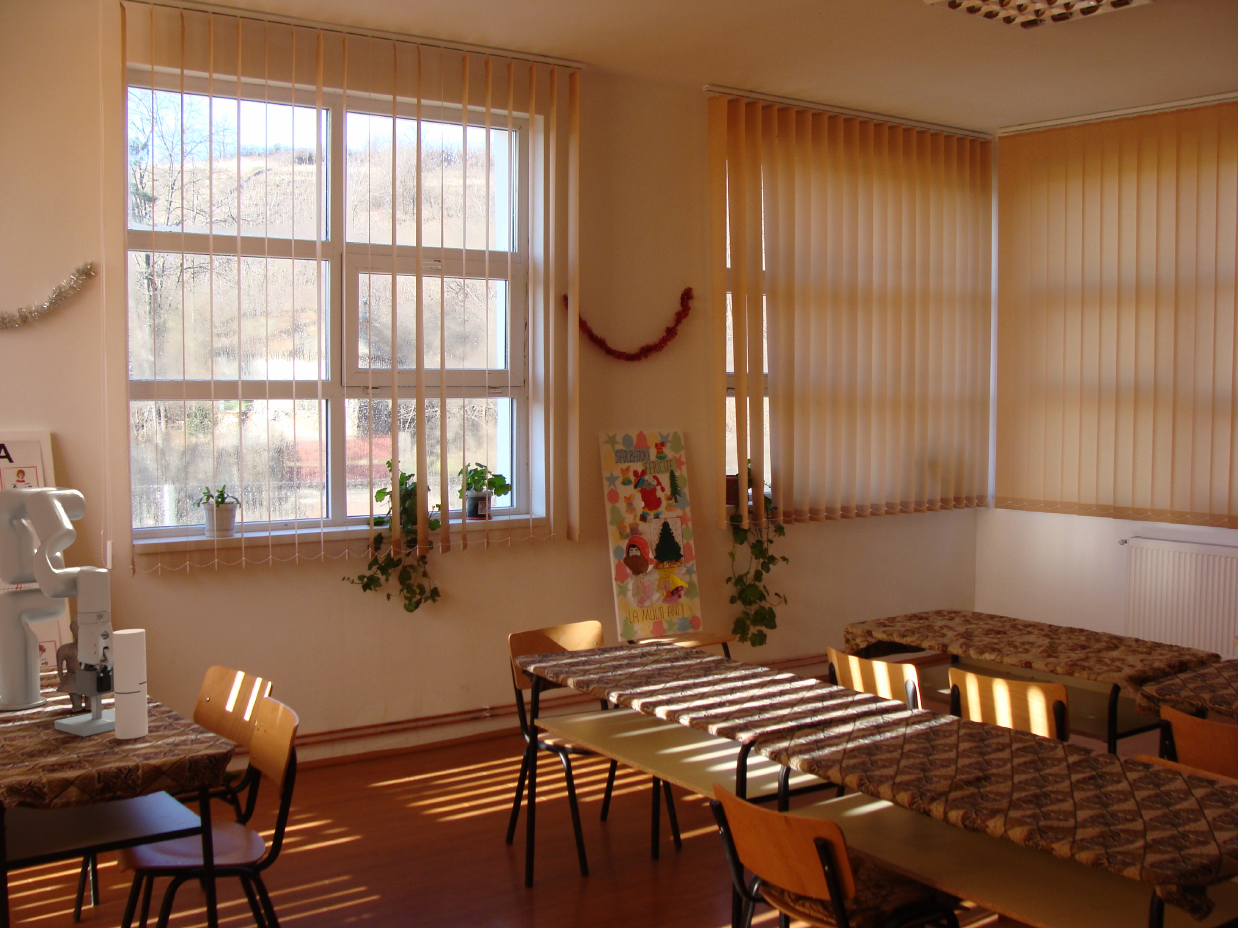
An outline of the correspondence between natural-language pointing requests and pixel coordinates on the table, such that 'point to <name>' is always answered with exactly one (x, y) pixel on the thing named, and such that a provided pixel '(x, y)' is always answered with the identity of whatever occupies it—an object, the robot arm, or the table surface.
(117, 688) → the cylindrical container
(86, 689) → the square tunnel housing
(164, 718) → the table surface
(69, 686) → the clay figurine
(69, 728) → the shaft base
